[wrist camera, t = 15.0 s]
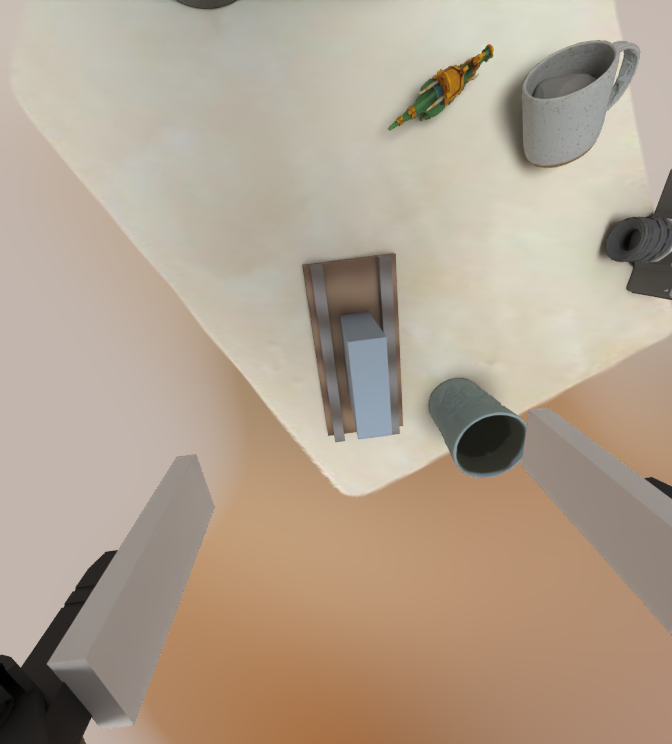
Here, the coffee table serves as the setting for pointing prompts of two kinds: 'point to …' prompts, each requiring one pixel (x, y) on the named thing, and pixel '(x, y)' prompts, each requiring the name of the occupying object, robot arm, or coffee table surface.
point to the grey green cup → (477, 428)
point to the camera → (647, 248)
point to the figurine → (444, 88)
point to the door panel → (367, 374)
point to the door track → (326, 303)
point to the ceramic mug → (572, 99)
